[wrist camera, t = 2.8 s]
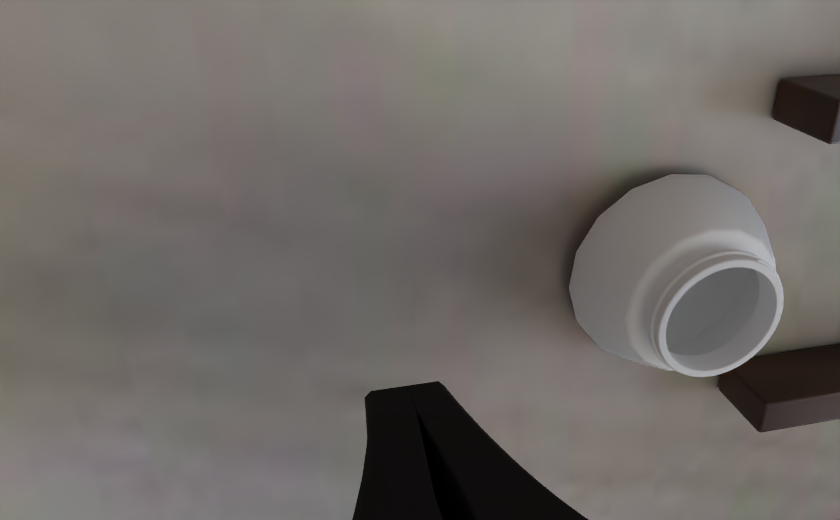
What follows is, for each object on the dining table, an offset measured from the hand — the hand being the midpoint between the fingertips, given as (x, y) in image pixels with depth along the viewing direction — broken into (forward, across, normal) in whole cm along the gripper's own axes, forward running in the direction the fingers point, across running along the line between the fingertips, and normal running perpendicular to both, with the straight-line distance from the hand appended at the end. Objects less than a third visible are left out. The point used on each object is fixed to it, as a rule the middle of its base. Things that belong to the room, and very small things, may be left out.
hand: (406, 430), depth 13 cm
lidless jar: (+5, -8, 0) cm, 9 cm away
